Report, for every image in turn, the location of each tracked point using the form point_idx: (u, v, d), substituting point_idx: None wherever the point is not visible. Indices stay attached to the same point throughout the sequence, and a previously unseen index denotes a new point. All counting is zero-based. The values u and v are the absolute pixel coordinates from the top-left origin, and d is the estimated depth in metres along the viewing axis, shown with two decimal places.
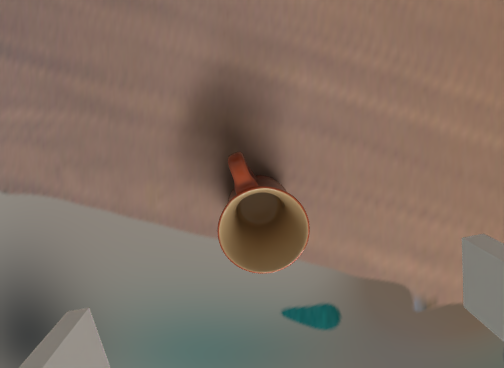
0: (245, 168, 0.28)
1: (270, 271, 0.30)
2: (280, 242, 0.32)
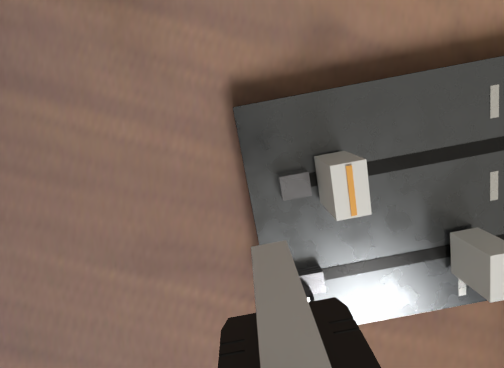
0: None
1: None
2: None
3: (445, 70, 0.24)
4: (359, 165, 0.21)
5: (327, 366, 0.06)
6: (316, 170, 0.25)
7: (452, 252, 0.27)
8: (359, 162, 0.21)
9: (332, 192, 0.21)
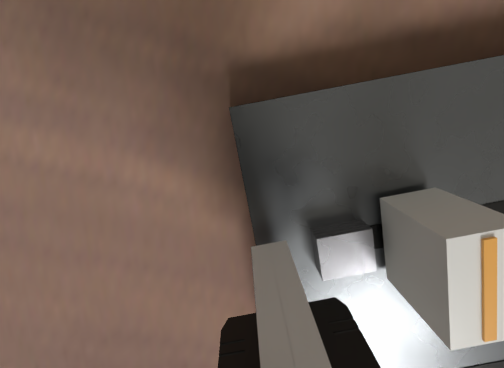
0: None
1: None
2: None
3: None
4: None
5: (327, 366, 0.06)
6: (384, 224, 0.14)
7: None
8: None
9: (444, 292, 0.10)
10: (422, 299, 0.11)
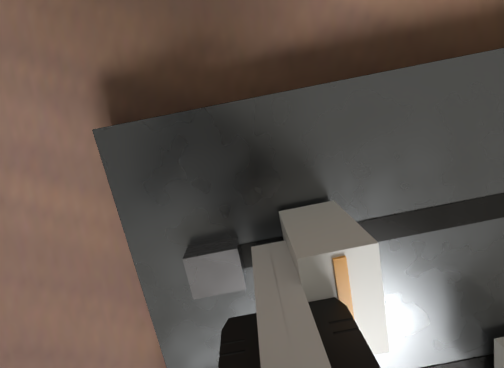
0: None
1: None
2: None
3: (492, 56, 0.13)
4: (363, 255, 0.09)
5: (327, 366, 0.06)
6: (283, 236, 0.14)
7: None
8: (363, 250, 0.09)
9: None
10: None
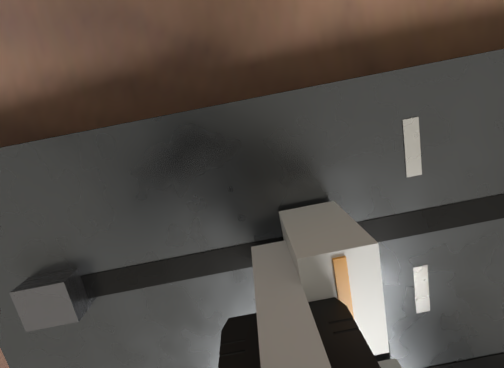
0: None
1: None
2: None
3: (315, 92, 0.13)
4: (363, 256, 0.09)
5: (327, 366, 0.06)
6: (283, 237, 0.14)
7: None
8: (362, 250, 0.09)
9: None
10: None
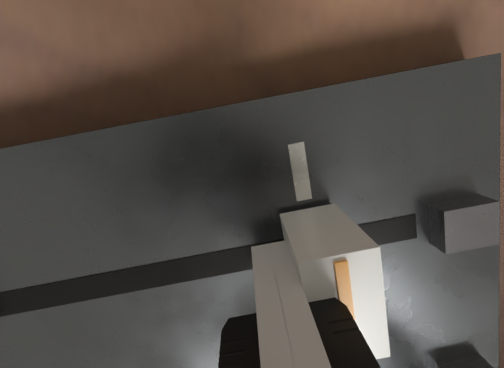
0: None
1: None
2: None
3: (197, 117, 0.13)
4: (365, 260, 0.09)
5: (327, 367, 0.06)
6: (284, 239, 0.14)
7: None
8: (364, 254, 0.09)
9: None
10: None
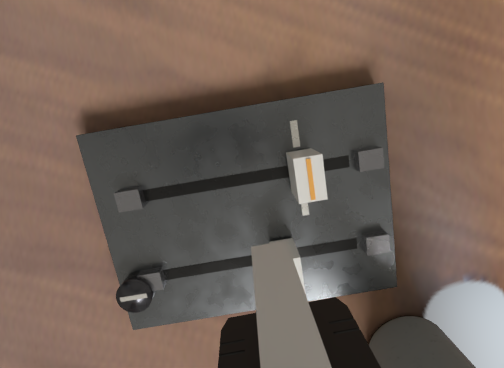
0: None
1: None
2: None
3: (250, 108, 0.30)
4: (317, 159, 0.26)
5: (328, 366, 0.06)
6: None
7: None
8: (316, 156, 0.26)
9: (295, 180, 0.26)
10: (294, 189, 0.28)
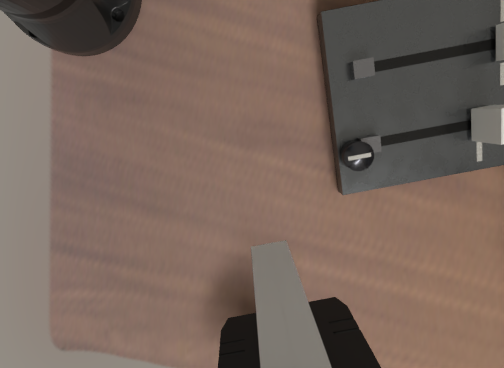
0: None
1: None
2: None
3: None
4: None
5: (327, 366, 0.06)
6: (497, 35, 0.36)
7: (472, 123, 0.38)
8: None
9: None
10: None
